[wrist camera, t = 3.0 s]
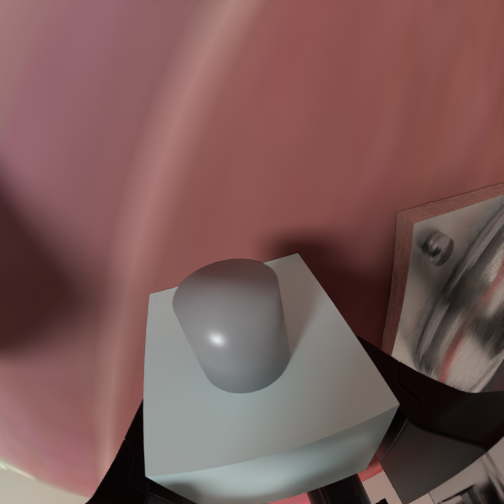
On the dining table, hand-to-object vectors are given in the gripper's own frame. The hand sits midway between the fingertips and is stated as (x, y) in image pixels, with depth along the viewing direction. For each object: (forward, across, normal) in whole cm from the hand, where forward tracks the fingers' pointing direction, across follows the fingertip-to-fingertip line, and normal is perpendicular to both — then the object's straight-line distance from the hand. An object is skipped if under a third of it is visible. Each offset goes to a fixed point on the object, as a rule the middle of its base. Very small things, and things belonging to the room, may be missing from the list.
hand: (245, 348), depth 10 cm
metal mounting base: (+1, -15, +4) cm, 16 cm away
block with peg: (+1, 0, 0) cm, 1 cm away
